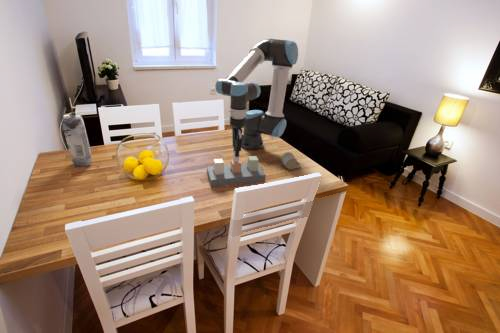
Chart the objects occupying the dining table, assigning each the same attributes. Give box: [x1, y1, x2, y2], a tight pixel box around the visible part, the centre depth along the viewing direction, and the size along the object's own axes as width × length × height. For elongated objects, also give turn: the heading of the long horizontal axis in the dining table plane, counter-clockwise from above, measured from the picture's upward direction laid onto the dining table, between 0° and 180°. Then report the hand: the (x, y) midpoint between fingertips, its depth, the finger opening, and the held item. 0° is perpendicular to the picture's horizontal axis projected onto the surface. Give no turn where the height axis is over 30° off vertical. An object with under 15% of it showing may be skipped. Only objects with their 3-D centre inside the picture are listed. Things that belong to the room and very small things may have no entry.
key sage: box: [247, 155, 259, 172], centre depth 145 cm, size 4×4×7 cm
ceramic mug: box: [280, 151, 302, 171], centre depth 158 cm, size 11×8×8 cm
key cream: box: [213, 158, 225, 175], centre depth 140 cm, size 4×4×7 cm
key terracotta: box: [230, 159, 242, 174], centre depth 143 cm, size 4×4×7 cm
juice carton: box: [61, 113, 92, 168], centre depth 143 cm, size 9×10×27 cm
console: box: [206, 162, 266, 188], centre depth 145 cm, size 14×28×4 cm, turn 106°
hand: (236, 161), depth 141 cm, fingers closed
